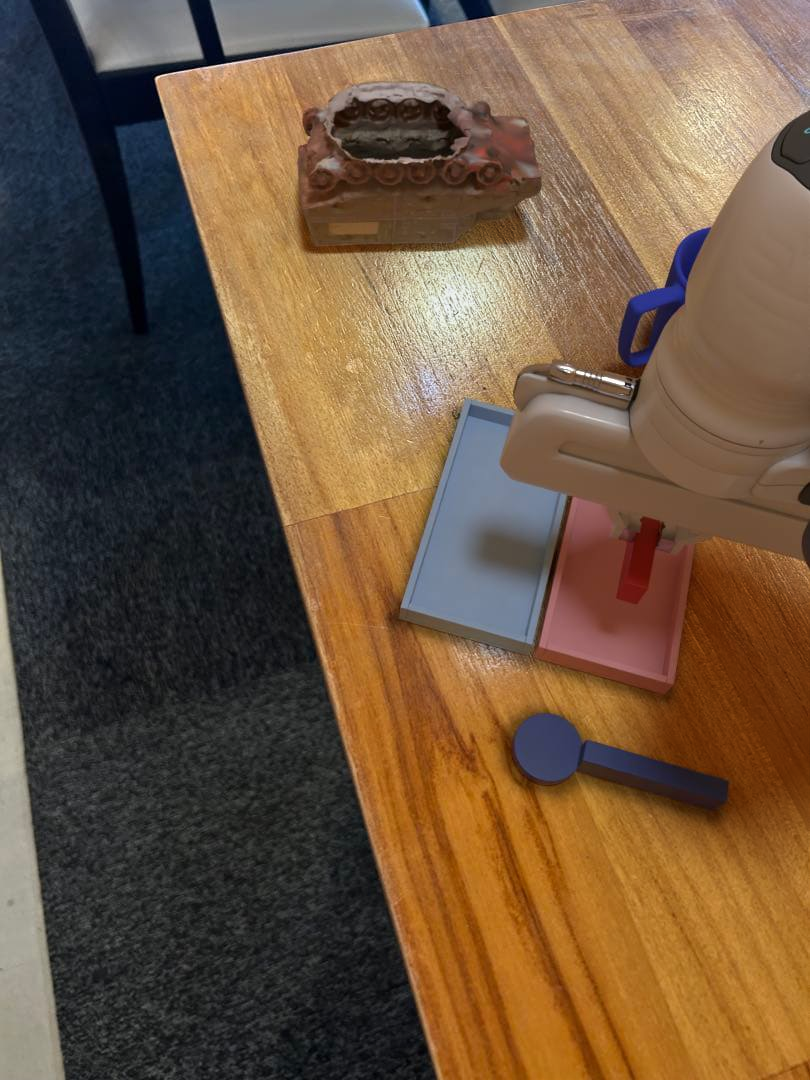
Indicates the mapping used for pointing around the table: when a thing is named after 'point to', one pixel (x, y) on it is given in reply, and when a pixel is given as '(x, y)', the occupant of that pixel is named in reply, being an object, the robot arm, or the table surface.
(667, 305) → the mug
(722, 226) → the robot arm
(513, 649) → the blue tray
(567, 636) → the pink tray
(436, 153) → the decorative box
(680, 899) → the table surface
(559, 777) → the blue spoon
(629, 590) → the red spoon
